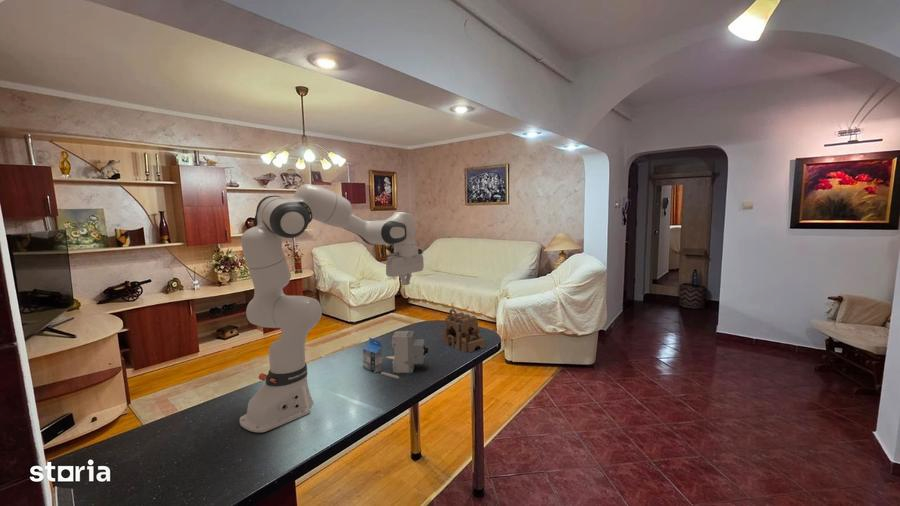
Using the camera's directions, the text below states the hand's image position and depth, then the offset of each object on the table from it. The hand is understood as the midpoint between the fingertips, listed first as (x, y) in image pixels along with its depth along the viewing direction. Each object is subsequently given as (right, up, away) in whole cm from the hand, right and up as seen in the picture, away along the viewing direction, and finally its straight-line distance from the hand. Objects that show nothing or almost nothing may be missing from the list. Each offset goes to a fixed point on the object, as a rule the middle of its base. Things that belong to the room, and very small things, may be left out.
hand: (406, 284), depth 147 cm
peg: (-6, -36, -5) cm, 37 cm away
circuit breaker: (+2, -36, +2) cm, 36 cm away
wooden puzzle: (+24, -33, +30) cm, 50 cm away
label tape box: (-14, -36, +3) cm, 39 cm away
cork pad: (-6, -34, +15) cm, 38 cm away
